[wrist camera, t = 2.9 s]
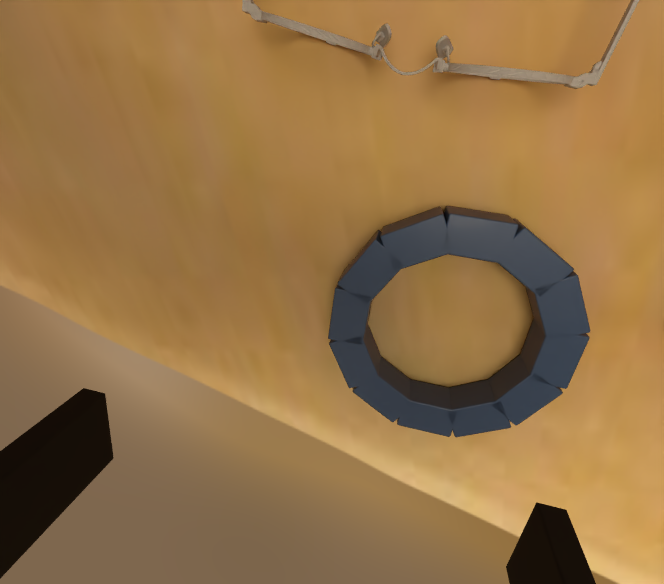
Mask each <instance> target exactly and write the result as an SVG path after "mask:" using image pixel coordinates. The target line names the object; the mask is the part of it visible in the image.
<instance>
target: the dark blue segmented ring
mask: <svg viewBox="0 0 664 584" xmlns="http://www.w3.org/2000/svg"><path fill="white" fill-rule="evenodd" d="M446 254H450V255H455V256H461V257H467V258H473V259H478V260H484V261H490V262H496V263H498V264H500V265H501V266H502V267H503V268H504V269H506V270H507V271H508V272H509V273H510V274H512V275H513V276H514V277H515V278H516V279H517V280H519V281H520V282H521V283H522V284H523V285H525V286H526V290H527V294H528V297H529V301H530V305H531V308H532V312H533V316H534V320H533V322H532V325H531V328H530V330H529V333H528V336H527V338H526V341H525V343H524V346H523V349H522V351H521V354H520V355H519V356H517V357H516V358H515V359H514V360H512V361H511V362H510V363H509V364H507V365H506V366H505V367H504V368H502V369H501V370H500V371H498V372H497V373H496V374H495V375H493V376H492V377H491V378H490V379H488V380H483V381H478V382H474V383H469V384H464V385H459V386H455V387H450V388H447V387H443V386H438V385H434V384H429V383H424V382H420V381H415V380H411V379H409V378H408V377H407V376H405V375H404V374H403V373H401V372H400V371H399V370H398V369H396V368H395V367H394V366H393V365H391V364H390V363H389V362H387V361H386V360H385V359H384V358H382V357H381V355H380V352H379V350H378V347H377V345H376V343H375V340H374V338H373V335H372V333H371V330H370V328H369V326H368V318H369V313H370V308H371V302H372V299H373V298H374V297H375V296H376V295H377V294H378V293H379V292H380V291H381V290H382V289H383V288H384V287H385V285H386V284H387V283H388V282H389V281H390V280H391V279H392V278H393V277H394V276H395V275H396V274H397V273H398V272H399V270H400V269H403V268H406V267H409V266H412V265H415V264H418V263H421V262H425V261H428V260H431V259H434V258H437V257H440V256H443V255H446ZM573 270H574V269H573V268H572V267H571V266H570V265H569V264H568V263H567V262H565V261H564V260H563V259H562V258H561V257H560V256H559V255H557V254H556V253H555V252H554V251H553V250H552V249H550V248H549V247H548V246H547V245H546V244H545V243H543V242H542V241H541V240H540V239H539V238H538V237H536V236H535V235H534V234H533V233H532V232H531V231H529V230H528V229H527V228H526V227H525V226H524V225H522V224H521V223H520V222H519V221H518V220H517V219H515V218H514V219H512V218H511V217H509V216H508V215H503V214H497V213H491V212H485V211H478V210H472V209H466V208H459V207H453V206H446V208H445V212H444V214H443V211H442V209H441V207H440V206H439V207H436V208H433V209H431V210H428V211H425V212H422V213H420V214H417V215H414V216H411V217H409V218H406V219H403V220H400V221H398V222H395V223H392V224H389V225H386V226H384V227H383V230H382V232H381V231H380V230H378V231H377V232H376V233H375V235H374V236H373V237H372V238H371V239H370V240H369V242H368V243H367V244H366V245H365V246H364V247H363V249H362V250H361V251H360V252H359V253H358V255H357V256H356V257H355V258H354V259H353V260H352V262H351V263H350V264H349V265H348V266H347V268H346V269H345V270H344V272H343V273H342V275H341V277H340V279H339V281H338V284H337V286H336V288H335V293H334V300H333V307H332V315H331V322H330V329H329V336H328V339H331V340H330V342H329V345H330V347H331V349H332V351H333V354H334V356H335V358H336V360H337V362H338V365H339V367H340V369H341V371H342V373H343V376H344V378H345V380H346V382H347V384H348V387H349V388H352V387H353V393H355V394H356V395H357V396H359V397H360V398H361V399H363V400H364V401H365V402H366V403H368V404H369V405H370V406H372V407H373V408H374V409H376V410H377V411H378V412H380V413H381V414H382V415H383V416H385V417H386V418H387V419H389V420H390V421H391V422H394V421H395V420H396V419H397V424H398V425H401V426H405V427H409V428H413V429H418V430H422V431H426V432H430V433H435V434H439V435H443V436H447V437H450V436H451V433H452V430H453V433H454V436H455V437H460V436H466V435H472V434H478V433H484V432H489V431H495V430H501V429H507V428H511V425H510V421H511V422H512V423H513V424H515V425H518V424H520V423H521V422H522V421H524V420H525V419H527V418H528V417H530V416H531V415H532V414H534V413H535V412H537V411H538V410H540V409H541V408H542V407H544V406H545V405H547V404H548V403H550V402H551V401H553V400H554V399H555V398H557V397H558V396H560V395H561V394H562V393H563V392H562V390H561V389H560V388H565V389H566V388H567V387H568V385H569V382H570V380H571V378H572V376H573V374H574V371H575V369H576V367H577V365H578V362H579V360H580V358H581V356H582V354H583V351H584V349H585V347H586V345H587V343H588V340H589V336H588V335H587V334H586V333H589V332H590V327H589V323H588V318H587V314H586V309H585V305H584V300H583V296H582V291H581V287H580V283H579V278H578V275H577V274H576V273H575V272H574V271H573ZM509 420H510V421H509Z"/></svg>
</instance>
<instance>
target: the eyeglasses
mask: <svg viewBox="0 0 664 584" xmlns="http://www.w3.org/2000/svg"><path fill="white" fill-rule="evenodd" d="M638 2H639V0H631V1H630V3H629V5H628V7H627V9H626V11H625V13H624V15H623V17H622V19H621V21H620V23H619V25H618V27H617V29H616V31H615V33H614V35H613V37H612V39H611V41H610V43H609V45H608V47H607V49H606V51H605V53H604V55H603V57H602V59H601V61H599V62H597V63H596V64H594V65H593V67H592V70H591V71H590V72H589V73H584V74H581V75H579V76H577V77H574V76H568V75H562V74H555V73H548V72H540V71H532V70H523V69H514V68H504V67H495V66H483V65H471V64H456V63H449V61H450V59H449V55H450V54H451V52H452V51H453V46H452V44H451V42H450V40H449V38H448V37H447V36H446V35H445V36H443V37H441V38H440V39H439V40H438V41H437V43H436V52H437V56H438V58H435V59H434V60H433V61H432V62H431V63H429V64H428V65H427V66H425V67H424V68H422V69H420V70H418V71H415V72H402V71H400V70H398V69H396V68H395V67H394V66H393V65H391V63H390V62H389V60H388V59H387V57H386V55H385V52H384V49H383V48H384V47H385V46H386V45H387V44H388V42H389V40H390V39H391V29H390V26H389V25H388V24H387V23H386V24H384V25H383V26H382V27H381V28H380V29H379V30H378V31H377V33H376V37H375V39H374V40H373V42H372V47H370V46H367V45H365V44H362V43H359V42H356V41H353V40H351V39H348V38H345V37H342V36H339V35H336V34H333V33H330V32H327V31H324V30H321V29H318V28H315V27H312V26H309V25H306V24H303V23H300V22H296V21H293V20H290V19H287V18H284V17H280V16H277V15H274V14H270V13H267V12H263V11H261V9H260V8H259V7H258V6H257V5H255V4H254V1H253V0H243V6H242V10H243V11H244V12H245V13H248V14H250V15H251V16H252V18H253V19H255V20H256V21H258V22H263V23H267V22H270V23H273V24H276V25H279V26H282V27H285V28H288V29H291V30H294V31H297V32H300V33H303V34H306V35H309V36H312V37H315V38H319V39H322V40H325V41H326V43H329V44H332V45H336V44H337V45H340V46H343V47H346V48H349V49H352V50H356V51H359V52H362V53H365V54H368V55H370V56H371V57H372V58H374V59H377V60H380V61H381V59H382V56H383V58H384V59H385V61H386V63H387V64H388V65H389V67H390V68H391V69H392V70H394V71H395V72H397V73H399V74H401V75H414V74H418V73H420V72H422V71H424V70H426V69H427V68H429V67H430V66H431V65H432V64H434V67H433V72H439V73H443V71H446V72H452V73H460V74H468V75H476V76H484V77H490V79H497V80H500V79H501V78H503V79H512V80H522V81H531V82H541V83H552V84H565V85H564V86H565V87H570V88H574V89H577V88H582V87H583V86H585V85H590V86H594V85H597V83H598V81H599V79H600V77H601V75H602V73H603V71H604V69H605V67H606V65H607V63H608V61H609V59H610V57H611V55H612V53H613V51H614V49H615V47H616V45H617V43H618V41H619V39H620V37H621V35H622V33H623V31H624V29H625V27H626V25H627V23H628V21H629V19H630V18H631V16H632V14H633V12H634V10H635V8H636V6H637V4H638ZM375 41H377V42H379V43H380V45H378V44H376V46H374V43H375ZM445 57H447V63H445V61H444V60H442V59H444V58H445Z"/></svg>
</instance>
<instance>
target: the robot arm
mask: <svg viewBox="0 0 664 584" xmlns="http://www.w3.org/2000/svg"><path fill="white" fill-rule="evenodd" d="M112 459H113V451H112V443H111V437H110V428H109V421H108V413H107V405H106V398H105V394H104V393H100V392H97V391H93V390H89V389H84V388H83V389H82V390H81V391H79V392H78V393H77V394H75V395H74V396H73V397H71V398H70V399H69V400H68V401H66V402H65V403H64V404H62V405H61V406H59V407H58V408H57V409H56V410H54V411H53V412H52V413H50V414H49V415H48V416H46V417H45V418H44V419H42V420H41V421H40V422H39V423H37V424H36V425H34V426H33V427H32V428H31V429H29V430H28V431H27V432H25V433H24V434H23V435H21V436H20V437H19V438H17V439H16V440H15V441H14V442H12V443H11V444H9V445H8V446H7V447H5V448H4V449H3V450H2V451H0V578H1V577H2V576H3V575H4V574H5V573H6V572H7V571H8V570H9V569H10V568H11V567H12V565H13V564H14V563H15V562H16V561H17V560H18V559H19V558H20V557H21V556H22V555H23V554H24V553H25V552H26V551H27V549H28V548H29V547H30V546H31V545H32V544H33V543H34V542H35V541H36V540H37V539H38V538H39V536H41V535H42V534H43V533H44V531H45V530H46V529H47V528H48V527H49V526H50V525H51V524H52V523H53V522H54V521H55V520H56V519H57V518H58V517H59V516H60V514H61V513H62V512H63V511H64V510H65V509H66V508H67V507H68V506H69V505H70V504H71V503H72V502H73V501H74V500H75V499H76V497H77V496H78V495H79V494H80V493H81V492H82V491H83V490H84V489H85V488H86V487H87V486H88V484H90V482H91V481H92V480H93V479H94V478H95V477H96V476H97V475H98V474H99V473H100V472H101V471H102V470H103V469H104V468H105V467H106V466H107V465H108V463H109V462H110V461H111V460H112ZM506 568H507V573H508V578H509V583H510V584H596V583H595V580H594V578H593V575H592V573H591V570H590V568H589V565H588V563H587V560H586V558H585V555H584V553H583V550H582V548H581V545H580V543H579V540H578V538H577V535H576V533H575V530H574V528H573V525H572V523H571V520H570V518H569V515H568V513H567V511H566V510H565V509H561V508H557V507H553V506H549V505H545V504H541V503H536V505H535V507H534V509H533V511H532V513H531V515H530V517H529V520H528V522H527V524H526V526H525V528H524V530H523V532H522V534H521V536H520V539H519V541H518V543H517V545H516V547H515V549H514V551H513V553H512V555H511V558H510V560H509V562H508V564H507V566H506Z"/></svg>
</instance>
